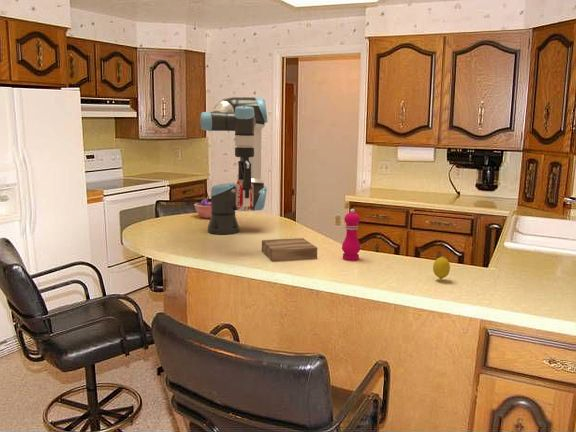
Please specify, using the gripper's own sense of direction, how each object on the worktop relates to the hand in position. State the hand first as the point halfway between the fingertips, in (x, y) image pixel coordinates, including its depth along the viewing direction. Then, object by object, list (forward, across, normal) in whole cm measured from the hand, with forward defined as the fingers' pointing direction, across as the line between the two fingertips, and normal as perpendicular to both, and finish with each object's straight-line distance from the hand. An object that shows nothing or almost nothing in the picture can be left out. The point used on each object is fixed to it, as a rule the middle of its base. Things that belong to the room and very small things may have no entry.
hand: (244, 204), depth 201 cm
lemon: (+20, +50, +58) cm, 80 cm away
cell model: (+20, -82, -2) cm, 85 cm away
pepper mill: (+20, +17, +39) cm, 47 cm away
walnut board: (+21, +5, +17) cm, 27 cm away
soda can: (+2, 0, 0) cm, 2 cm away
